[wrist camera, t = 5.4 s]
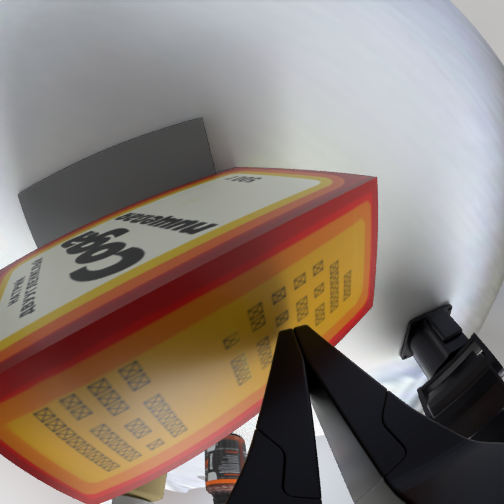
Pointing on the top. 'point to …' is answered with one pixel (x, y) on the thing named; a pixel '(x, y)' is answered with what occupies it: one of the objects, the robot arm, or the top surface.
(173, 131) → the mat
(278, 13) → the top surface
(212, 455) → the supplement bottle
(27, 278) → the baking soda box
